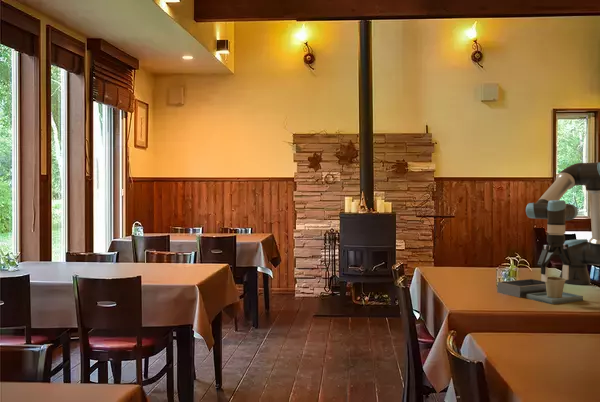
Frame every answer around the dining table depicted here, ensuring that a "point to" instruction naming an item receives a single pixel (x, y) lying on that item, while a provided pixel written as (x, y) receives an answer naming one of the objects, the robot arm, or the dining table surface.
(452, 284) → the dining table surface
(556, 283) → the flower pot
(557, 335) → the dining table surface
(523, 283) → the metal holder
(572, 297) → the tray
